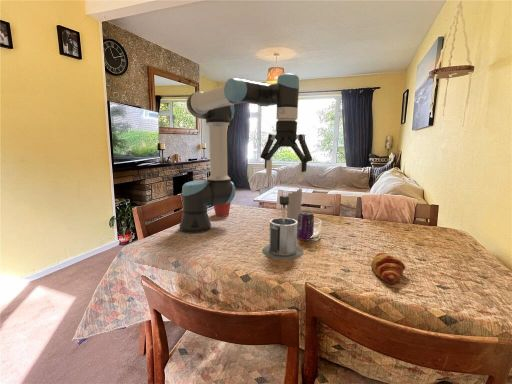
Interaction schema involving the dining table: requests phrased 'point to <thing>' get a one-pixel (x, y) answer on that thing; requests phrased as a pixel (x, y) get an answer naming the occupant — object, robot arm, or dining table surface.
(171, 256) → the dining table surface
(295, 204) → the white tall block
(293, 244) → the faceted metal cup
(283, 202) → the plunger
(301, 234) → the beverage can
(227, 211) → the flower pot
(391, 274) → the croissant
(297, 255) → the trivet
